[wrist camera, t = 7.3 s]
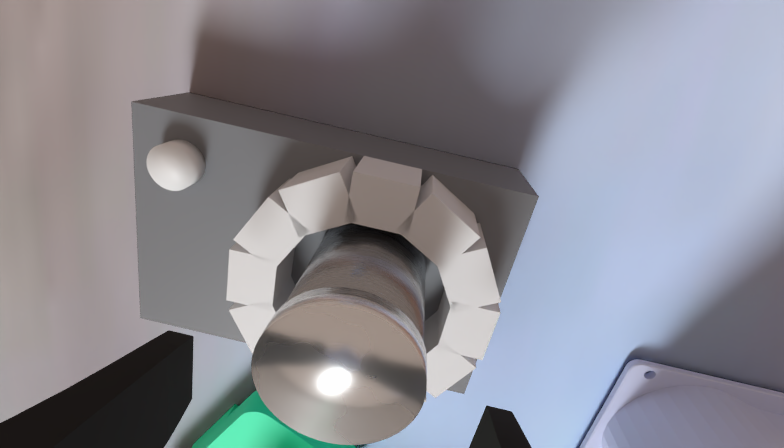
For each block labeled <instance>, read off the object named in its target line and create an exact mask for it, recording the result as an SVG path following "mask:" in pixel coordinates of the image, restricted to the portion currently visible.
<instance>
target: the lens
mask: <svg viewBox="0 0 784 448" xmlns="http://www.w3.org/2000/svg"><path fill="white" fill-rule="evenodd" d="M425 281H426V257H425V255H424V254H423V253H422V252H421V251H419V250H418V249H417V248H416V247H415V246H414V245H413V244H411V243H410V242H409V241H408V240H407V239H406V238H405V237H403V236H402V235H401V234H397V233H393V232H389V231H384V230H380V229H376V228H371V227H367V226H363V225H359V224H354V223H349V224H345V225H342V226H338V227H334V228H331V229H329V231H328V232H327V234H326V235H325V237H324V238H323V240H322V242H321V243H320V245H319V247H318V248H317V250H316V252H315V254H314V255H313V257H312V259H311V260H310V262H309V264H308V265H307V267H306V269H305V270H304V272H303V274H302V276H301V277H300V279H299V281H298V282H297V284H296V286H295V287H294V289H293V291H292V292H291V294H290V296H289V297H288V299H287V301H286V303H285V304H283V305H282V306H281V307H280V308H279V309H278V310H277V311H276V313H275V314H274V316H273V317H272V318H271V320H270V322H269V323H268V325H267V326H266V328H265V330H264V331H263V333H262V335H261V336H260V338H259V340H258V342H257V344H256V346H255V348H254V352H253V355H252V363H251V367H252V377H253V382H254V384H255V387H256V390H257V392H258V394H259V396H260V398H261V399H262V401H263V402H264V404H265V405H266V406H267V408H268V409H269V410H270V411H271V412H272V413H273V414H274V415H275V416H276V417H277V418H278V419H279V420H280V421H282V422H283V423H284V424H286V425H287V426H289V427H290V428H292V429H294V430H295V431H297V432H299V433H301V434H303V435H305V436H308V437H310V438H313V439H316V440H319V441H323V442H327V443H333V444H339V445H362V444H369V443H374V442H378V441H381V440H384V439H386V438H389V437H391V436H393V435H395V434H397V433H399V432H400V431H401V430H403V429H404V428H406V427H407V426H408V425H409V424H410V423H411V422H412V421H413V420H414V419H415V417H416V416H417V415H418V413H419V411H420V410H421V408H422V406H423V403H424V400H425V396H426V390H427V354H426V348H425V345H424V315H425Z"/></svg>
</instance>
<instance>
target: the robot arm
mask: <svg viewBox="0 0 784 448" xmlns="http://www.w3.org/2000/svg"><path fill="white" fill-rule="evenodd" d="M647 371H650V372H649V373H646V372H647ZM192 372H193V336H190V335H186V334H182V333H177V332H173V331H167V332H165V333H163V334H162V335H160V336H158V337H156V338H155V339H153V340H151V341H149V342H148V343H146V344H144V345H142V346H141V347H139V348H137V349H136V350H134V351H132V352H130V353H129V354H127V355H125V356H124V357H122V358H120V359H118V360H117V361H115V362H113V363H111V364H110V365H108V366H106V367H105V368H103V369H101V370H99V371H97V372H96V373H94V374H92V375H90V376H89V377H87V378H85V379H83V380H81V381H80V382H78V383H76V384H74V385H73V386H71V387H69V388H67V389H65V390H63V391H62V392H60V393H58V394H56V395H54V396H52V397H50V398H48V399H46V400H44V401H42V402H41V403H39V404H37V405H35V406H33V407H31V408H29V409H27V410H25V411H23V412H21V413H19V414H18V415H16V416H14V417H12V418H10V419H8V420H6V421H4V422H2V423H0V448H164V446H165V445H166V443H167V442H168V440H169V439H170V437H171V435H172V433H173V432H174V430H175V428H176V427H177V425H178V423H179V421H180V420H181V418H182V416H183V414H184V412H185V411H186V409H187V407H188V405H189V403H190V401H191V400H192ZM469 448H531V446H530V444H529V442H528V440H527V438H526V437H525V435H524V433H523V431H522V429H521V427H520V426H519V424H518V422H517V420H516V418H515V416H514V415H513V413H512V412H511V411H507V410H503V409H499V408H494V407H490V406H486V408H485V411H484V413H483V416H482V418H481V420H480V423H479V425H478V428H477V430H476V432H475V435H474V437H473V440H472V442H471V445H470V447H469ZM579 448H784V393H782V392H778V391H773V390H769V389H765V388H760V387H756V386H752V385H748V384H743V383H739V382H735V381H731V380H726V379H722V378H718V377H713V376H709V375H705V374H701V373H696V372H692V371H688V370H683V369H679V368H675V367H671V366H666V365H662V364H658V363H654V362H649V361H645V360H640V359H635V360H632V361H630V362H628V364H627V365H626V366H625V368H624V370H623V372H622V373H621V375H620V377H619V379H618V380H617V382H616V384H615V386H614V387H613V389H612V391H611V393H610V394H609V396H608V398H607V400H606V401H605V403H604V405H603V407H602V408H601V410H600V412H599V414H598V415H597V417H596V419H595V421H594V422H593V424H592V426H591V428H590V430H589V431H588V433H587V435H586V437H585V438H584V440H583V442H582V444H581V445H580V447H579Z"/></svg>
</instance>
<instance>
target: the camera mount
mask: <svg viewBox="0 0 784 448" xmlns="http://www.w3.org/2000/svg"><path fill="white" fill-rule="evenodd" d="M192 448H357V447H355V446H354V445H339V444H333V443H327V442H323V441H319V440H316V439H313V438H310V437H308V436H305V435H303V434H301V433H299V432H297V431H295V430H294V429H292V428H290V427H289V426H287V425H286V424H284V423H283V422H282V421H280V420H279V419H278V418H277V417H276V416H275V415H274V414H273V413H272V412H271V411H270V410H269V409H268V408H267V406H266V405H265V404H264V402H263V401H262V399H261V398H260V396H259V394H258V392H257V390H256V391H255V392H253V393H252V394H251V395H250V396H249V397H248V398H247V399H246V400H245V401H244V402H243V403H242V404H241V405H240V406H238V405H236V404H234V405H233V406H232V407H231V408H230V409H229V410H228V411H227V412H226V413H225V414H224V415H223V416H222V417H221V418H220V419H219V420H218V421H217V422H216V423H215V424H214V425H213V426H212V427H211V428H209V429H208V430H207V431H206V432H205V433H204V434H203V435H202V436H201V437H200V438H199V439H198V440H197V441H196V442H195V443H194V445H193V446H192Z"/></svg>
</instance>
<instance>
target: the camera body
mask: <svg viewBox="0 0 784 448" xmlns="http://www.w3.org/2000/svg"><path fill="white" fill-rule="evenodd" d="M131 104H132V128H133V152H134V176H135V201H136V225H137V249H138V273H139V297H140V318H143V319H147V320H151V321H155V322H160V323H164V324H168V325H172V326H177V327H181V328H185V329H189V330H194V331H198V332H202V333H207V334H211V335H215V336H219V337H224V338H228V339H232V340H236V341H241V342H245V343H247V345H248V347H249V349H250V350H251V352H252V354H253V352H254V348H255V346H256V344H257V342H258V340H259V338H260V336H261V335H262V333H263V331H264V330H265V328H266V326H267V325H268V323H269V322H270V320H271V318H272V317H273V316H274V314H275V313H276V311H277V310H278V309H279V308H280V307H281V306H282V305H283V304H285V303H286V301H287V299H288V297H289V296H290V294H291V292H292V291H293V289H294V287H295V286H296V284H297V282H298V281H299V279H300V277H301V276H302V274H303V272H304V270H305V269H306V267H307V265H308V264H309V262H310V260H311V259H312V257H313V255H314V254H315V252H316V250H317V248H318V247H319V245H320V243H321V242H322V240H323V238H324V237H325V235H326V234H327V232H328V231H329V229H331V228H334V227H338V226H342V225H345V224H349V223H354V224H359V225H363V226H367V227H371V228H376V229H380V230H384V231H389V232H393V233H397V234H401V235H402V236H403V237H405V238H406V239H407V240H408V241H409V242H410V243H411V244H413V245H414V246H415V247H416V248H417V249H418V250H419V251H421V252H422V253H423V254H424V255H425V257H426V281H425V315H424V345H425V348H426V354H427V390H426V391H427V392H429V393H430V394H431V395H432V396H434V397H435V398H436V397H437V396H439V395H440V394H441V393H443V392H444V391H445V390H450V391H454V392H458V393H463V394H464V393H465V390H466V387H467V385H468V382H469V379H470V377H471V374H472V371H473V370H474V369H475V368H476V364H475V363H476V361H477V359H480V360H483V357H484V354H485V352H486V349H487V347H488V344H489V341H490V339H491V336H492V334H493V331H494V328H495V326H496V323H497V321H498V318H499V315H500V309H499V305H498V303H500V302H501V300H500V297H501V295H502V292H503V289H504V287H505V284H506V282H507V279H508V276H509V274H510V271H511V268H512V266H513V263H514V260H515V258H516V255H517V252H518V250H519V247H520V245H521V242H522V239H523V237H524V234H525V231H526V229H527V226H528V223H529V221H530V218H531V215H532V213H533V210H534V208H535V205H536V202H537V200H538V197H539V196H538V195H537V194H536V192H535V191H534V190H533V188H532V187H531V185H530V184H529V183H528V181H527V180H526V179H525V177H524V176H523V175H522V173H521V172H520V171H519V169H515V168H510V167H506V166H502V165H498V164H493V163H489V162H485V161H480V160H476V159H472V158H468V157H463V156H459V155H455V154H450V153H446V152H442V151H437V150H433V149H429V148H425V147H420V146H416V145H412V144H407V143H403V142H399V141H395V140H390V139H386V138H382V137H377V136H373V135H369V134H365V133H360V132H356V131H352V130H347V129H343V128H339V127H334V126H330V125H326V124H322V123H317V122H313V121H309V120H304V119H300V118H296V117H292V116H287V115H283V114H279V113H274V112H270V111H266V110H261V109H257V108H253V107H249V106H244V105H240V104H236V103H231V102H227V101H223V100H219V99H214V98H210V97H206V96H201V95H197V94H193V93H183V94H176V95H170V96H164V97H157V98H151V99H145V100H138V101H132V102H131ZM424 402H426V396H425V400H424Z"/></svg>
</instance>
